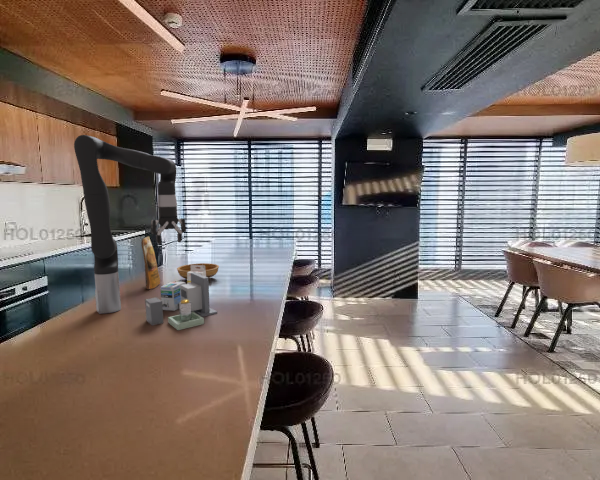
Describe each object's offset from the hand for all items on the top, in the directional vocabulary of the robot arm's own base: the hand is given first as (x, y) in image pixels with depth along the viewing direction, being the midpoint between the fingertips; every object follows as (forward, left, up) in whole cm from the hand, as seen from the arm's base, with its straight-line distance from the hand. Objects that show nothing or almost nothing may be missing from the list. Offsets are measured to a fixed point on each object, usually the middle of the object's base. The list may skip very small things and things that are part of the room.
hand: (169, 243), depth 154 cm
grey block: (-11, -10, -30) cm, 34 cm away
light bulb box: (+2, +4, -30) cm, 31 cm away
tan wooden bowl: (+32, +46, -30) cm, 64 cm away
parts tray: (-2, -20, -30) cm, 36 cm away
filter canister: (-2, -20, -30) cm, 36 cm away
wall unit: (+7, -9, -30) cm, 32 cm away
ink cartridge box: (+19, +18, -30) cm, 40 cm away
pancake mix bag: (+6, +50, -30) cm, 59 cm away
